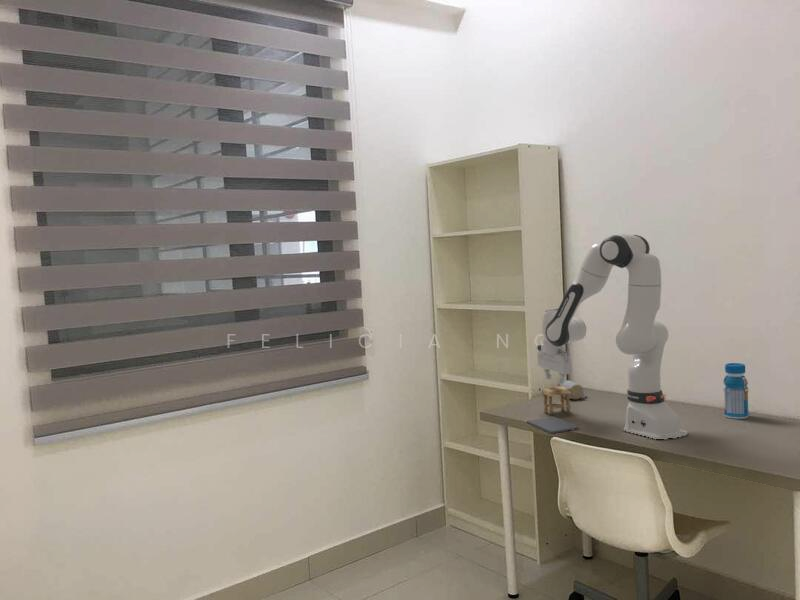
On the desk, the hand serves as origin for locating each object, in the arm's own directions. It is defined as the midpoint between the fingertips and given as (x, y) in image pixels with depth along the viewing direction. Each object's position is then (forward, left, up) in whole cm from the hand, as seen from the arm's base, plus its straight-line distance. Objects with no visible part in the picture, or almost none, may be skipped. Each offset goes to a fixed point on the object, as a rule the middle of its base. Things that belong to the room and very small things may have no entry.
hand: (554, 381), depth 265 cm
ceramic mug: (+19, -21, -14) cm, 31 cm away
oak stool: (0, 0, -13) cm, 13 cm away
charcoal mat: (-16, +12, -13) cm, 24 cm away
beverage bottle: (-40, -53, -13) cm, 68 cm away
